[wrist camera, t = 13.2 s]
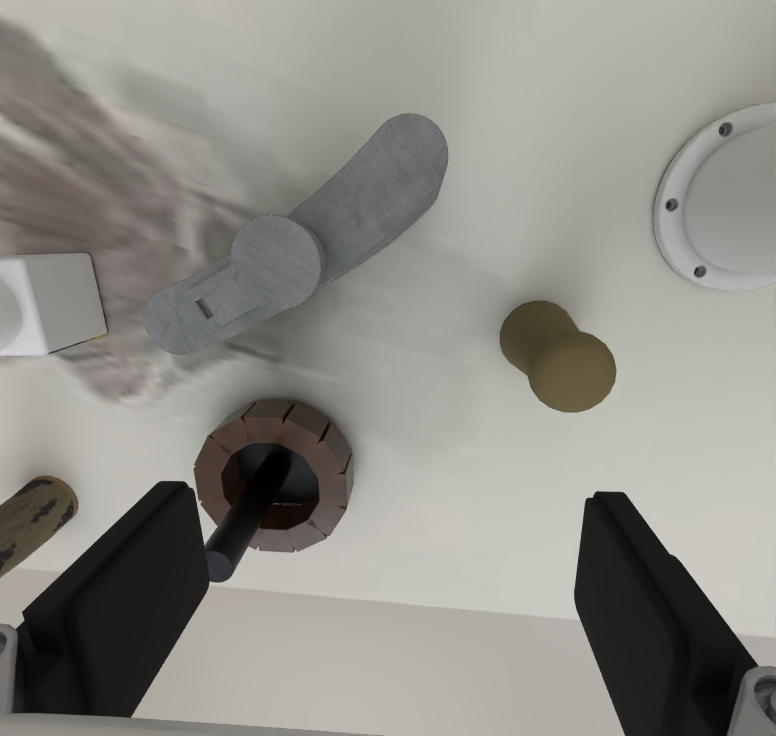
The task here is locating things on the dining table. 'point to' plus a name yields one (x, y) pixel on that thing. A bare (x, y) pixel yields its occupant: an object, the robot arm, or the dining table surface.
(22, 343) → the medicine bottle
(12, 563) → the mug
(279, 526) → the hoop
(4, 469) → the dining table surface
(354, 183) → the hip flask
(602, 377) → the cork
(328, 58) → the dining table surface
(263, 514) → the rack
